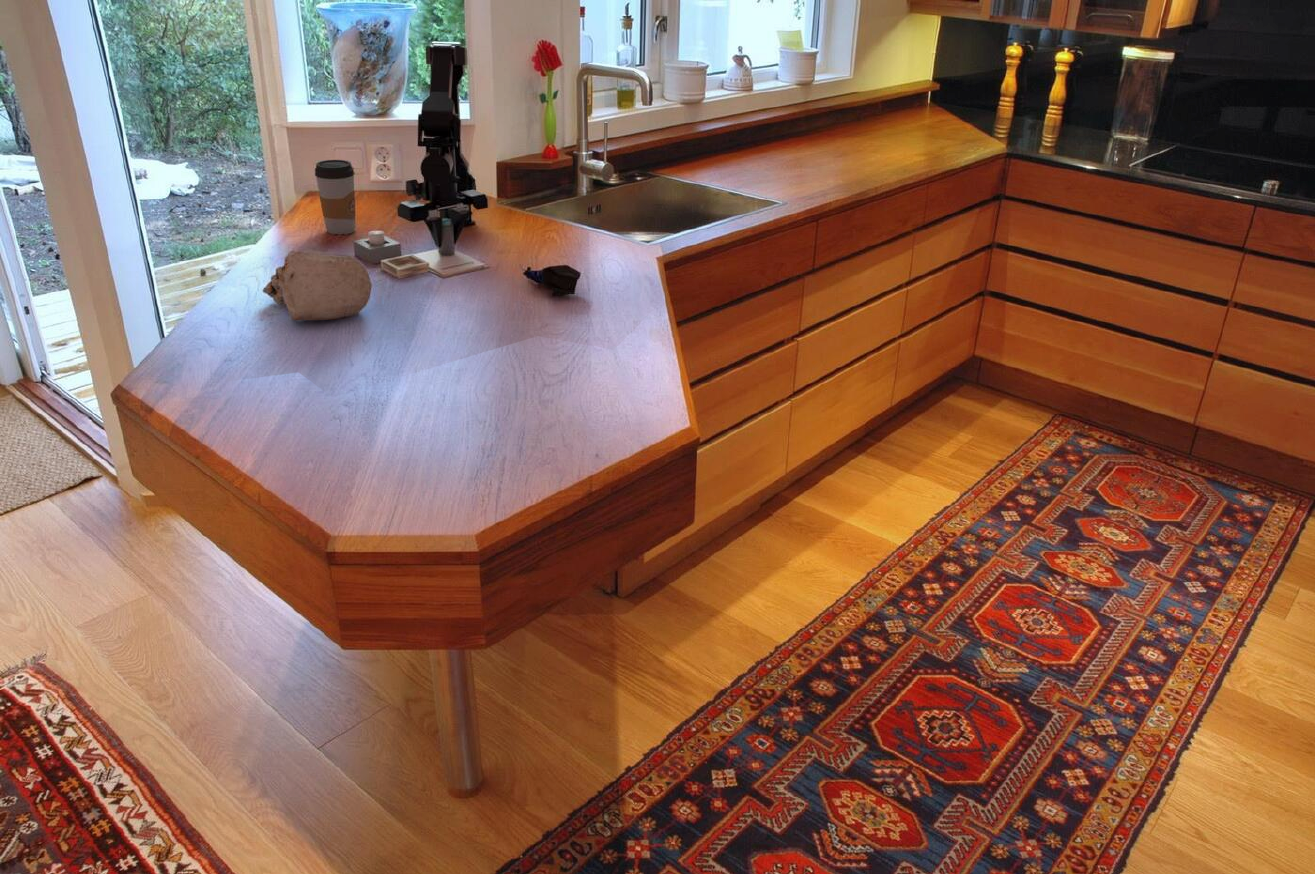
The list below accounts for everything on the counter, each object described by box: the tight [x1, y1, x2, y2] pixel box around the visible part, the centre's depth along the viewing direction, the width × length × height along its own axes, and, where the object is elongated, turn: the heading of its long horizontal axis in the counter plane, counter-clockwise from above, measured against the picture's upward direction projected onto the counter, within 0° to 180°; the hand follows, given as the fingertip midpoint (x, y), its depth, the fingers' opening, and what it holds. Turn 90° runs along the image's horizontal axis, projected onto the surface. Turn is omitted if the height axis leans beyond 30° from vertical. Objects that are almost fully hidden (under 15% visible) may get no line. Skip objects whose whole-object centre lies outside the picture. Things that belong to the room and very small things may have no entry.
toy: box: [518, 264, 582, 296], centre depth 197 cm, size 9×6×15 cm
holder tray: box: [380, 253, 430, 279], centre depth 205 cm, size 7×7×2 cm
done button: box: [367, 230, 385, 246], centre depth 210 cm, size 3×3×3 cm
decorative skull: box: [262, 249, 373, 322], centre depth 182 cm, size 12×18×20 cm
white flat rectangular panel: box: [412, 248, 490, 279], centre depth 210 cm, size 11×15×1 cm
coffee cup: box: [314, 159, 357, 236], centre depth 222 cm, size 8×8×15 cm
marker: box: [437, 218, 456, 255], centre depth 211 cm, size 3×3×7 cm
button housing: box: [353, 235, 402, 264], centre depth 211 cm, size 7×7×3 cm
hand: (446, 245), depth 212 cm, fingers closed on marker, 3 cm apart
